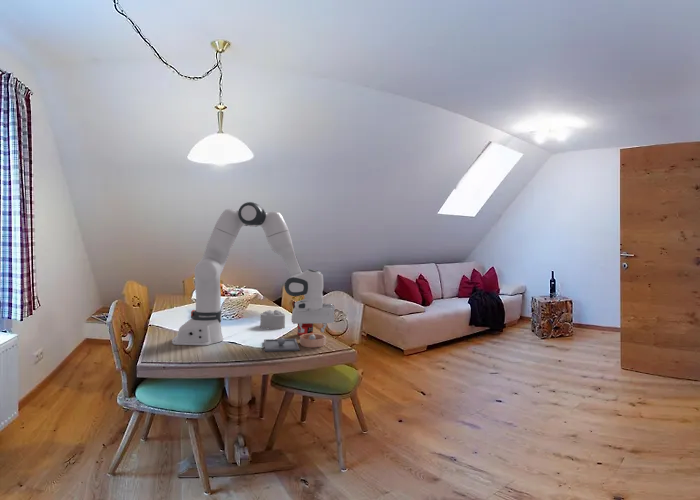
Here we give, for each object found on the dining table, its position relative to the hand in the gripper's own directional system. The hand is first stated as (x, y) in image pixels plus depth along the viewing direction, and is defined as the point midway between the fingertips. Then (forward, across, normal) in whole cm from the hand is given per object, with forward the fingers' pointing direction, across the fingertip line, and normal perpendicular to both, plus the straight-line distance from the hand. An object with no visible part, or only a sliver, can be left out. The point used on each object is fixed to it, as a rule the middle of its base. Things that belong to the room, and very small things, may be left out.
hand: (312, 332), depth 198 cm
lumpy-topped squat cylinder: (+6, +17, -34) cm, 39 cm away
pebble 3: (+3, +1, +4) cm, 5 cm away
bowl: (+5, 0, +2) cm, 5 cm away
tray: (+5, +15, +4) cm, 16 cm away
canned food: (+5, +1, -16) cm, 16 cm away
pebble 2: (+3, 0, 0) cm, 3 cm away
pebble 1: (+3, +15, +4) cm, 16 cm away
